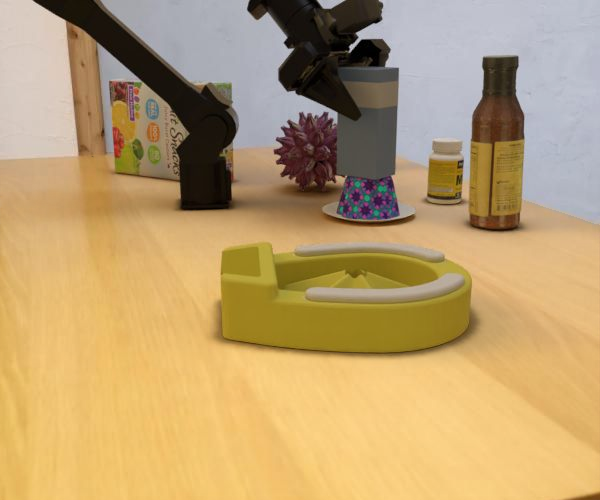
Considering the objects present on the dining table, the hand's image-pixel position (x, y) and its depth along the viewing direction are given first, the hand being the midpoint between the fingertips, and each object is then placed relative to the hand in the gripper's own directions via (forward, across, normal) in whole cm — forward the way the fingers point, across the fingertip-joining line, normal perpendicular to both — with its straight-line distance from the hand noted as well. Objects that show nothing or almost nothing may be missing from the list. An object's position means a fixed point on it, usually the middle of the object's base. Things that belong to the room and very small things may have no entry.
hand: (377, 114), depth 97 cm
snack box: (-19, +6, +38) cm, 43 cm away
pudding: (+8, 0, +10) cm, 13 cm away
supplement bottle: (+12, +13, +6) cm, 19 cm away
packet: (+4, 0, +6) cm, 8 cm away
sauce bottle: (+19, +4, -1) cm, 20 cm away
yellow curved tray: (+20, -33, -2) cm, 39 cm away
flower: (-2, +10, +20) cm, 23 cm away
